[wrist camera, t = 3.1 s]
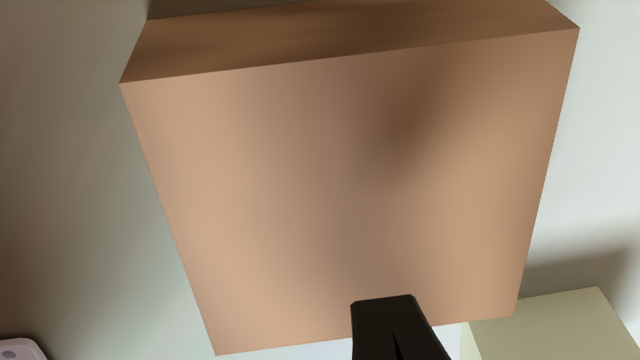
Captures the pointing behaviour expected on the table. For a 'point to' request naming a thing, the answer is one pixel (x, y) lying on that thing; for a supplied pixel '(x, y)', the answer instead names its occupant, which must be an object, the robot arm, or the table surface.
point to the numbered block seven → (552, 330)
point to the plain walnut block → (349, 156)
